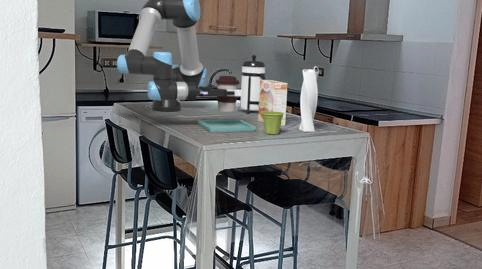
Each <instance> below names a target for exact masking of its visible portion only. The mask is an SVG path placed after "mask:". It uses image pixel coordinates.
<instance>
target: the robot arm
mask: <svg viewBox="0 0 482 269" xmlns="http://www.w3.org/2000/svg"><path fill="white" fill-rule="evenodd" d="M139 17H140V19H139V21H138V24H137V27H136V29H135V32H134V34H133V37H132V39H131V41H130V42H131V43H130V45H129V47H128V51H126V54H120V55H118V57H117V60H116V69H117V71H118V72H119V73H121V74H124V75H126V74H127V75H146V76H147V75H148V76H152V77H153V78H152V80H151V81H149V82H148V83H147V97H148V99H149V100H151V101H152V103H151V110H152V111H157V112H179V111H181V110H182V104H181V101H185V100H186V101H196V99H197V96H198V97H203V98H204V97H217V96H224V97H225V98H227V96H237V97H241V93H242V90H241V89H238V90H231V89H226V90H217V86H206V85H207V79H208V69H207V68H204V65H203V63H201V62H200V55H199V48H198V40H197V32H196V26H197V24H198V21H199V20H200V18H201V4H200V1H199V0H147V1H146V3H145V4H144V5H143V6H142V8H141V10H140V13H139ZM162 20H167V21H169V20H170V21H171V22H172V23H171V24H172V25H173V26H174V28H176V31H177V33H176V34H177V38H178V39H177V40H178V44H179V46H178V47H179V51H180V52H179V53H180V59H181V65H180V66H179V64H173V54H172V53H171V52H169V51H154V52H153V55H147V52H148V50H149V47H150V45H151V43H152V39H153V37H154V34H155V32H156V28H157V26H158V25H159V24H160V23H161V21H162Z"/></svg>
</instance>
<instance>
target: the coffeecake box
mask: <svg viewBox="0 0 482 269" xmlns="http://www.w3.org/2000/svg"><path fill="white" fill-rule="evenodd" d="M287 95H288V82H282V81H278V80H273V79H265V80H260V95H259V111H258V119H257V121H258V122H260V123H262V124H264V122H263V117H262V114H261V112H264V111H276V112H282V113H284V115H283V118H282V121H281V126H280V127H285V126H286V118H287V116H286V115H287V100H288V99H287V98H288V96H287Z"/></svg>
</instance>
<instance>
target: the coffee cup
mask: <svg viewBox="0 0 482 269" xmlns="http://www.w3.org/2000/svg"><path fill="white" fill-rule="evenodd" d="M215 84H217V85H216V87H217V90H226V89H231V90H239V89H238V85H240V80H239V79H238V78H237V77H236V76H233V75H219V78H218V79H215ZM237 100H238V96H227V98H225V97H224V96H216V101H217V111H218V112H221V113H235V111H236V104H237Z"/></svg>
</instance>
